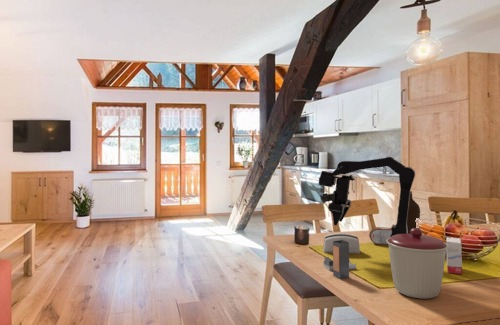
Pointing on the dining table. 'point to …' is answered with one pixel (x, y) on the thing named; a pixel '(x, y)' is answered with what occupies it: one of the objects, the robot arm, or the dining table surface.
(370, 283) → the dining table surface
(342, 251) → the block
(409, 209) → the olive oil
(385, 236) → the tin
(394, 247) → the canister
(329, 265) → the grey rectangular piece
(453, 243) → the ink box
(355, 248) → the white slotted device
